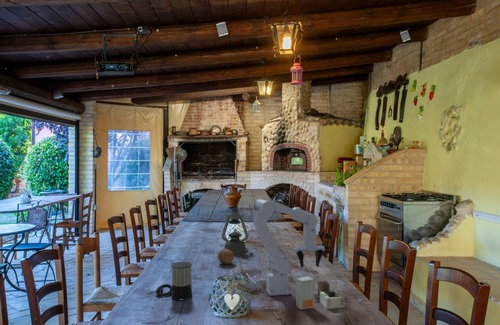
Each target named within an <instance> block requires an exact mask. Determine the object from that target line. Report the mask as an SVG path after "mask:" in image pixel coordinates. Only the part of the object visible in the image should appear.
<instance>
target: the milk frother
mask: <svg viewBox="0 0 500 325" xmlns="http://www.w3.org/2000/svg"><path fill="white" fill-rule="evenodd" d="M192 265H193V263H192V262H190V261H177V262H173V263H172V264H171V266H170V267H171V278H172V280H171V283H172V284H171V285H170V284H169V283H165V284H164V283H163V284H162V285H159V286H158V287H157V289H156V290H155V295H156V296H160V297H167V296H170V295H171V299H172V298H173V299H172V300H174V299H177V300H176V301H181V300H180V299H187V300H189V299H188V298H190V299H191V298H192V297H193V290H192V288H193V287H192ZM165 288H168V289H169V291H167V292H164V289H165ZM171 293H172V294H171Z"/></svg>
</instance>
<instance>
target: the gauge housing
mask: <svg viewBox="0 0 500 325" xmlns="http://www.w3.org/2000/svg"><path fill="white" fill-rule="evenodd" d="M334 291H335V297H331V298H330V297H328V295H327V294H326V293H324V292H320V297H319V303H320V305H322V306H323V307H324V308H325V309H326V310H330V309H341V308H343V309H344V308H345V306H346V303H345V302H346V298H345V296H344V295H342V294H341V293H340V292H339V291H338V290H334Z"/></svg>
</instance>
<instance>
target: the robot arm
mask: <svg viewBox="0 0 500 325" xmlns="http://www.w3.org/2000/svg"><path fill="white" fill-rule="evenodd" d="M252 210H253V215H252V216H253V218H252V220H253V222H252V223H253V225H254V228H255V230H256V231H257V234H258V236H259V237H260V240H261V242H262V244H263V247H264V248H265V250H266V253H267V255H268V256H267V260H268V266H269V268H270V269H271V272H270V273H267V274H266V278H265V281H266V286H265V287H266V292H267V293H268V295H269V296H271V297H272V296H282V295H284V296H285V295H290V294H291V293H290V291H289V290H288V273H289V272H290V269H291V266H290V262H288V261H287V260H286V259H285V257H284V255H283V254H282V253H281V252H280V250H279V247H278V245H277V244H276V242H275V239H274V236H273V235H272V232H271V231H270V229H269V226H268V224H267V222H268V220H269V219H270V218H271V216H273V214H274V213H277V212H280V213H283V214H286V215H288V216H289V217H290V219H291V220H294V221H296V222H299V223H302V224H303V227H302V228H303V246H298V247H294V249H293V250H294V253H296V256H297V258H298V260H299V265H300V268H304V257H305V253H306V252H315V266H316V267H319V266H320V262H321V259H322V257H323V255H324V252H325V250H326V249H325V247H326V246H324V245H316V244H317V242H316V241H317V240H316V230H317V229H316V228H317V224H318V223H319V219H318V217H317V215H316V214H315V213H310V212H309V211H308V210H303V209H302V208H301V207H299V206H297V207H296V206H295V207H293V208H291V207H289V206H286V205H284V204H282V203H280V202H276V201H271V200H267V199H266V200H265V199H262V198H258V199H257V200H256V201H255V202H254V203H253V206H252Z"/></svg>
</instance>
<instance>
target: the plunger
mask: <svg viewBox="0 0 500 325" xmlns="http://www.w3.org/2000/svg"><path fill="white" fill-rule="evenodd" d="M335 291H336V290H332V291H331V290H330V291H323V292H324V293H326V294H327V295H328V297H330V298H331V297H335Z"/></svg>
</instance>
